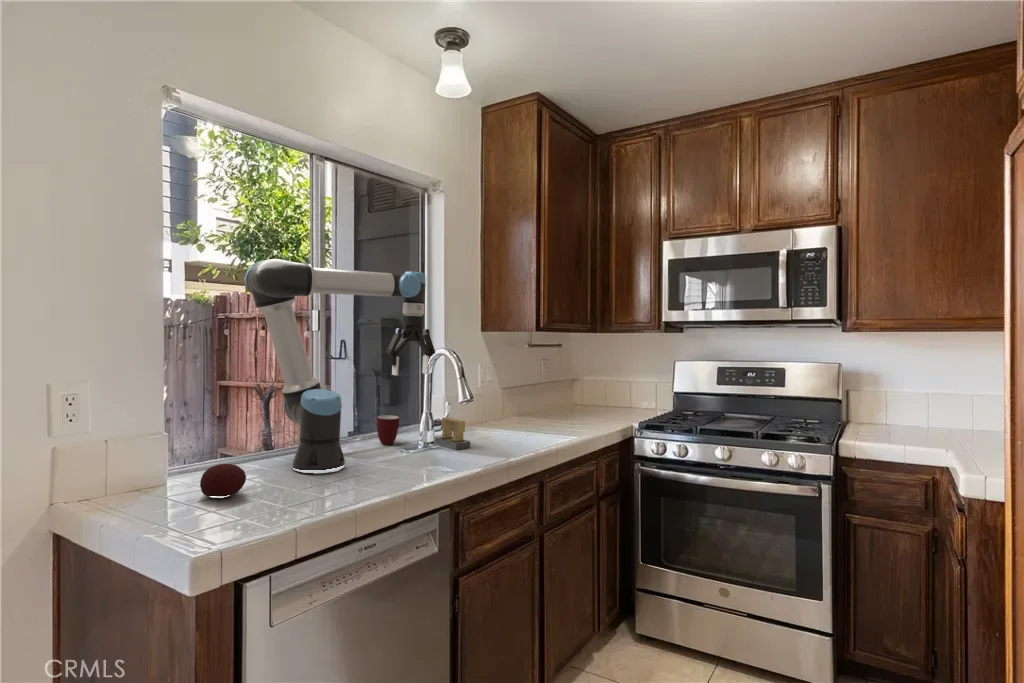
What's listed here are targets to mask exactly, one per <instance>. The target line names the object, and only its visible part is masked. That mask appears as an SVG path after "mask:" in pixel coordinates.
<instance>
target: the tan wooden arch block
mask: <svg viewBox="0 0 1024 683" xmlns="http://www.w3.org/2000/svg"><path fill="white" fill-rule="evenodd" d="M440 427H441V430H442V432H441V433H442V436H441V437H442V439H451V438H452V436H453V442H462V441H463V439H464V433H465V432H466V420H464V419H458V418H454V417H450V416H448V417H442V418H441V426H440Z"/></svg>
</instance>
